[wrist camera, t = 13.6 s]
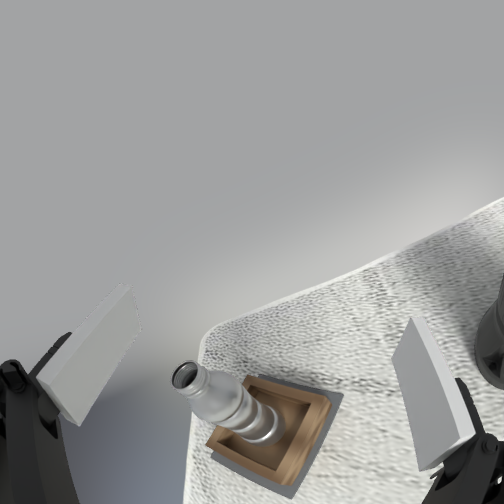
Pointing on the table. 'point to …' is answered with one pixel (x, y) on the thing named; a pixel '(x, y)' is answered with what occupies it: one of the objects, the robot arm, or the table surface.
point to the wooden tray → (293, 441)
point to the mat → (291, 490)
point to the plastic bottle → (227, 404)
